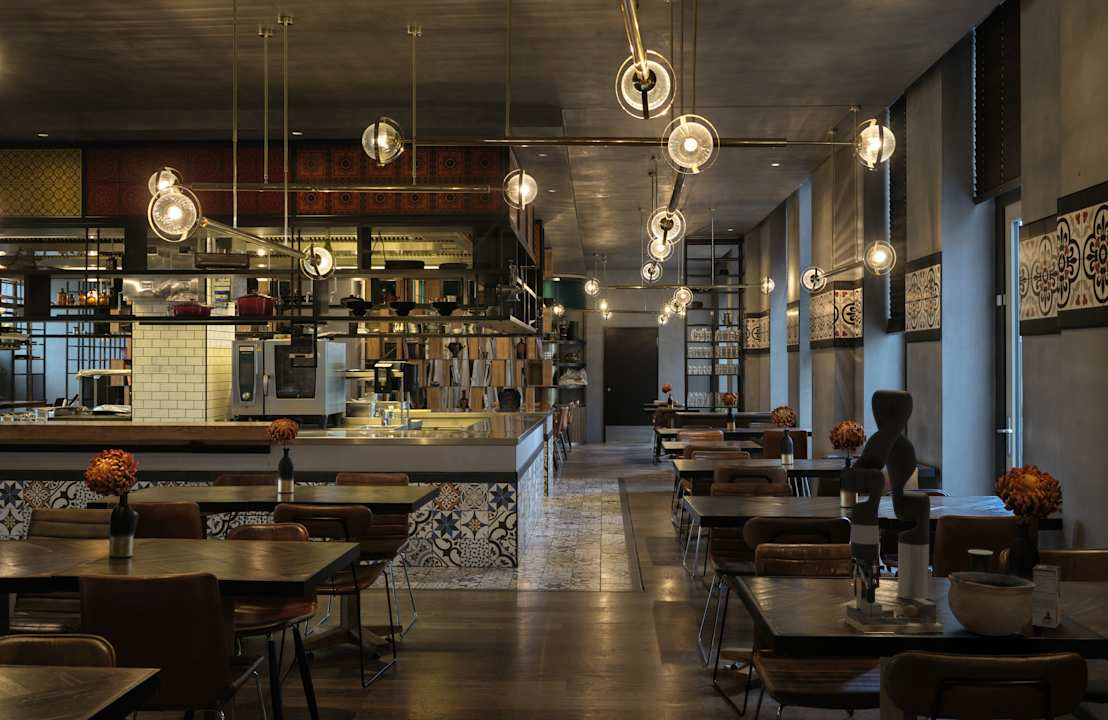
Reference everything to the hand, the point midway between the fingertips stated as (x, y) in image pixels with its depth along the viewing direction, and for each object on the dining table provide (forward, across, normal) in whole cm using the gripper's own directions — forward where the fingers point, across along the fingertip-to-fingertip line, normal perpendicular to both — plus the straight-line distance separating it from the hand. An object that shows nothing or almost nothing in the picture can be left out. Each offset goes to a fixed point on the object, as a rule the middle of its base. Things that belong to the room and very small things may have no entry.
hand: (864, 599), depth 285 cm
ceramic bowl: (+8, -8, -32) cm, 34 cm away
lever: (+5, 0, -1) cm, 5 cm away
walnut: (+6, 0, -13) cm, 14 cm away
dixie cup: (+8, +60, -66) cm, 90 cm away
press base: (+8, 0, -8) cm, 11 cm away
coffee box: (+8, +2, -54) cm, 55 cm away
